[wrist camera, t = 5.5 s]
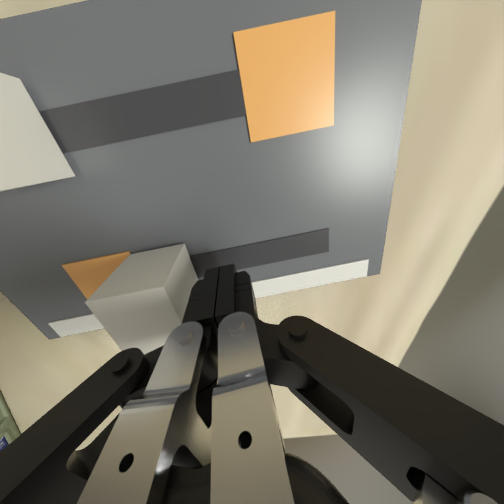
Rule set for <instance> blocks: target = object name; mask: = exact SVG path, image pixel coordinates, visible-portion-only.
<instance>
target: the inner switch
mask: <svg viewBox="0 0 504 504" xmlns="http://www.w3.org/2000/svg"><path fill="white" fill-rule="evenodd" d="M74 176H75V174H74V173H73V171H72V169H71V167H70V166H69V164H68V162H67V160H66V159H65V157H64V155H63V153H62V152H61V150H60V148H59V146H58V145H57V143H56V141H55V139H54V138H53V136H52V134H51V132H50V131H49V129H48V127H47V125H46V124H45V122H44V120H43V118H42V117H41V115H40V113H39V111H38V110H37V108H36V106H35V104H34V103H33V101H32V99H31V97H30V96H29V94H28V92H27V90H26V89H25V87H24V85H23V83H22V82H21V80H20V79H19V78H16V77H13V76H10V75H6V74H3V73H0V192H2V191H7V190H12V189H16V188H21V187H26V186H31V185H36V184H41V183H45V182H50V181H55V180H60V179H65V178H70V177H74Z"/></svg>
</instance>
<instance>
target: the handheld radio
mask: <svg viewBox="0 0 504 504" xmlns="http://www.w3.org/2000/svg"><path fill="white" fill-rule="evenodd" d="M20 435H21V434H20V432H19V430H18V428H17V426H16V424H15V422H14V419H13V417H12V415H11V413H10V411H9V409H8V407H7V404H6V402H5V400H4V398H3V396H2V394H1V392H0V452H1V451H2V450H3V449H4V448H5V447H7V446H8V445H9V444H10V443H11V442H13V441H14V440H15V439H16V438H17V437H18V436H20Z"/></svg>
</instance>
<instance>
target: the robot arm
mask: <svg viewBox="0 0 504 504" xmlns="http://www.w3.org/2000/svg"><path fill="white" fill-rule="evenodd" d="M270 384H274V385H279V386H285V387H288V388H289V390H290V391H291V392H292V393H293V394H294V395H295V396H296V397H297V398H298V399H299V400H301V401H302V402H303V403H304V404H305V405H306V406H307V407H308V408H309V409H310V410H312V411H313V412H314V413H315V414H316V415H317V416H318V417H319V418H320V419H321V420H323V421H324V422H325V423H326V424H327V425H328V426H329V427H330V428H331V429H332V430H334V431H335V432H336V433H337V434H338V435H339V436H340V437H341V438H342V439H343V440H345V441H346V442H347V443H348V444H349V445H350V446H351V447H352V448H353V449H354V450H356V451H357V452H358V453H359V454H360V455H361V456H362V457H363V458H364V459H366V460H367V461H368V462H369V463H370V464H371V465H372V466H373V467H374V468H375V469H376V470H378V471H379V472H380V473H381V474H382V475H383V476H384V477H385V478H386V479H388V480H389V481H390V482H391V483H392V484H393V485H394V486H395V487H396V488H397V489H398V490H400V491H401V492H402V493H403V494H404V495H405V496H406V497H407V498H408V499H409V500H411V501H412V502H413V503H412V504H504V425H502V424H500V423H498V422H496V421H495V420H493V419H491V418H489V417H487V416H485V415H484V414H482V413H480V412H478V411H476V410H475V409H473V408H471V407H469V406H467V405H465V404H464V403H462V402H460V401H458V400H456V399H454V398H453V397H451V396H449V395H447V394H445V393H444V392H442V391H440V390H438V389H436V388H435V387H433V386H431V385H429V384H427V383H425V382H424V381H421V380H419V379H418V378H416V377H414V376H413V375H411V374H409V373H407V372H405V371H403V370H402V369H400V368H398V367H396V366H394V365H393V364H391V363H389V362H387V361H385V360H383V359H382V358H380V357H378V356H376V355H374V354H373V353H371V352H369V351H367V350H365V349H363V348H362V347H360V346H358V345H356V344H354V343H353V342H351V341H349V340H347V339H345V338H343V337H342V336H340V335H338V334H336V333H334V332H332V331H331V330H329V329H327V328H325V327H323V326H322V325H320V324H318V323H316V322H314V321H312V320H311V319H309V318H307V317H303V316H291V317H288V318H286V319H284V320H283V321H281V323H280V324H279V325H274V324H268V323H265V322H262V321H261V320H259V319H258V314H257V307H256V300H255V295H254V291H253V286H252V282H251V278H250V275H249V274H248V273H247V272H246V271H241V272H237V271H236V267H235V264H234V263H233V264H229V265H224V266H219V267H214V268H209V269H206V270H205V274H204V279H202V280H198V281H197V282H196V283H195V284H194V286H193V287H192V289H191V292H190V296H189V299H188V303H187V306H186V310H185V313H184V317H183V320H182V324H181V325H179V326H178V327H176V328H175V329H174V330H173V331H172V332H171V333H170V334H169V336H168V338H167V340H166V342H165V344H164V345H163V346H161V347H159V348H157V349H155V350H153V351H151V352H149V353H146V354H143V352H142V351H141V350H140V349H139V348H129V349H126V350H123V351H121V352H119V353H118V354H116V355H115V356H114V357H112V358H111V359H110V360H109V361H108V362H106V363H105V364H104V365H103V366H102V367H101V368H99V369H98V370H97V371H96V372H95V373H93V374H92V375H91V376H90V377H89V378H87V379H86V380H85V381H84V382H83V383H81V384H80V385H79V386H78V387H77V388H76V389H74V390H73V391H72V392H71V393H70V394H68V395H67V396H66V397H65V398H64V399H62V400H61V401H60V402H59V403H58V404H57V405H55V406H54V407H53V408H52V409H51V410H49V411H48V412H47V413H46V414H45V415H43V416H42V417H41V418H40V419H39V420H37V421H36V422H35V423H34V424H33V425H32V426H30V427H29V428H28V429H27V430H26V431H24V432H23V433H22V434H21V435H20V436H18V437H17V438H16V439H15V440H14V441H13V442H11V443H10V444H9V445H8V446H7V447H5V448H4V449H3V450H2V451H1V452H0V504H349V503H348V502H347V500H346V499H345V498H344V497H343V496H342V495H341V493H340V492H339V491H338V490H337V489H336V487H335V486H334V485H333V484H332V483H331V482H330V481H329V480H328V479H327V478H326V477H325V476H324V475H323V474H322V473H321V472H320V471H319V470H318V469H317V468H315V467H314V466H312V465H311V464H309V463H308V462H307V461H305V460H303V459H301V458H300V457H298V456H295V455H292V454H290V453H286V450H285V445H284V441H283V437H282V433H281V428H280V424H279V420H278V416H277V412H276V407H275V403H274V399H273V394H272V390H271V385H270ZM118 405H119V406H120V407H121V408H122V411H121V412H120V413H119V414H118V415H117V416H116V417H115V419H114V420H113V421H112V422H111V423H110V424H109V425H108V426H107V427H106V428H105V429H104V430H103V431H102V432H101V433H100V434H99V435H98V436H97V438H96V439H95V440H94V441H93V442H92V443H91V444H90V445H88V446H87V447H86V448H84V449H82V450H78V451H75V449H76V448H77V447H78V446H79V445H80V444H81V443H82V442H83V441H84V440H85V439H86V438H87V437H88V436H89V435H90V434H91V433H92V432H93V431H94V430H95V429H96V428H97V427H98V426H99V425H100V424H101V423H102V422H103V421H104V420H105V419H106V418H107V417H108V416H109V415H110V414H111V413H112V412H113V410H114V409H115V408H116V407H117V406H118Z"/></svg>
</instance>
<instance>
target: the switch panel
mask: <svg viewBox="0 0 504 504" xmlns="http://www.w3.org/2000/svg"><path fill="white" fill-rule="evenodd" d="M421 2H422V0H87V1H83V2H78V3H73V4H69V5H64V6H59V7H55V8H50V9H46V10H41V11H36V12H32V13H27V14H22V15H18V16H13V17H8V18H4V19H0V73H3V74H6V75H10V76H13V77H16V78H19V79H20V80H21V82H22V83H23V85H24V87H25V89H26V90H27V92H28V94H29V96H30V97H31V99H32V101H33V103H34V104H35V106H36V108H37V110H38V111H39V113H40V115H41V117H42V118H43V120H44V122H45V124H46V125H47V127H48V129H49V131H50V132H51V134H52V136H53V138H54V139H55V141H56V143H57V145H58V146H59V148H60V150H61V152H62V153H63V155H64V157H65V159H66V160H67V162H68V164H69V166H70V167H71V169H72V171H73V173H74V174H75V176H74V177H70V178H65V179H60V180H55V181H50V182H45V183H41V184H36V185H31V186H26V187H21V188H16V189H12V190H7V191H2V192H0V291H1V292H2V293H3V294H4V295H5V296H6V297H7V298H8V299H9V300H10V301H11V302H12V303H13V304H14V305H15V306H16V307H17V308H18V309H19V310H20V311H21V312H22V313H23V314H24V315H25V316H26V317H27V318H28V319H29V320H30V321H31V322H32V323H33V324H34V325H35V326H36V327H37V328H38V329H39V330H40V331H41V332H42V333H43V334H44V335H45V336H46V337H47V338H48V339H54V338H59V337H64V336H69V335H74V334H79V333H84V332H89V331H95V330H100V329H105V328H104V327H103V325H102V324H101V323H100V322H99V320H98V319H97V318H96V316H95V315H94V314H93V313H92V311H91V310H90V309H89V307H88V306H87V305H86V303H85V301H86V300H87V299H88V298H89V297H90V296H91V295H92V294H93V293H94V292H95V291H96V290H97V289H98V288H99V287H100V286H101V285H102V283H103V282H104V281H105V280H106V279H107V278H108V277H109V276H110V275H111V274H112V273H113V272H114V271H115V270H116V269H117V268H118V267H119V265H120V264H121V263H122V262H123V261H124V260H125V259H126V258H127V257H128V256H129V255H130V254H134V253H139V252H144V251H149V250H154V249H159V248H164V247H169V246H174V245H179V244H184V243H185V246H186V249H187V251H188V254H189V256H190V259H191V262H192V264H193V267H194V269H195V272H196V275H197V277H198V280H202V279H204V274H205V270H206V269H209V268H214V267H219V266H224V265H229V264H233V263H234V264H235V267H236V271H237V272H241V271H246V272H247V273H248V274H249V275H250V278H251V282H252V286H253V291H254V295H255V299H256V298H261V297H266V296H271V295H276V294H281V293H286V292H291V291H296V290H301V289H306V288H311V287H316V286H321V285H326V284H331V283H336V282H341V281H346V280H351V279H356V278H361V277H366V276H371V275H376V274H380V270H381V263H382V257H383V250H384V244H385V237H386V231H387V224H388V218H389V211H390V205H391V198H392V191H393V185H394V178H395V172H396V165H397V159H398V152H399V146H400V139H401V133H402V126H403V120H404V113H405V107H406V100H407V94H408V87H409V80H410V74H411V67H412V61H413V54H414V48H415V41H416V35H417V28H418V22H419V15H420V9H421Z"/></svg>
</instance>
